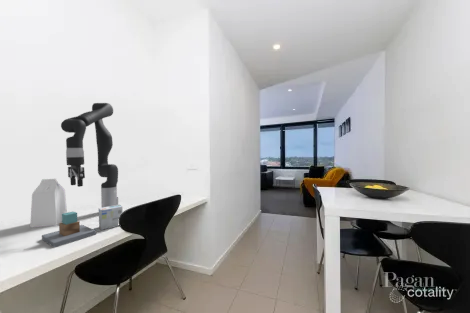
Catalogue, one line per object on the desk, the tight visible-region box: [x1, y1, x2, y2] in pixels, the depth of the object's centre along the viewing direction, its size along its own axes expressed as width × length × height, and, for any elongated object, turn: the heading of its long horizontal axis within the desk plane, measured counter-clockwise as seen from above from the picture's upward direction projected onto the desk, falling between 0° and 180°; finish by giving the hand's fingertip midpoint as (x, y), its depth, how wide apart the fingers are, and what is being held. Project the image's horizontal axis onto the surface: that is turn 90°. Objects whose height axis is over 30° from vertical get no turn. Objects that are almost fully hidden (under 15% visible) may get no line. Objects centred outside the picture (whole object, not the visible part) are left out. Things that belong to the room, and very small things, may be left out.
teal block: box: [61, 211, 78, 225], centre depth 96 cm, size 4×4×4 cm
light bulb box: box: [98, 204, 124, 231], centre depth 110 cm, size 11×7×11 cm, turn 135°
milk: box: [29, 178, 68, 228], centre depth 116 cm, size 12×12×26 cm
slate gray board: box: [41, 224, 97, 248], centre depth 96 cm, size 16×16×2 cm
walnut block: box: [58, 220, 81, 236], centre depth 96 cm, size 6×6×5 cm
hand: (76, 185), depth 108 cm, fingers open, 8 cm apart
